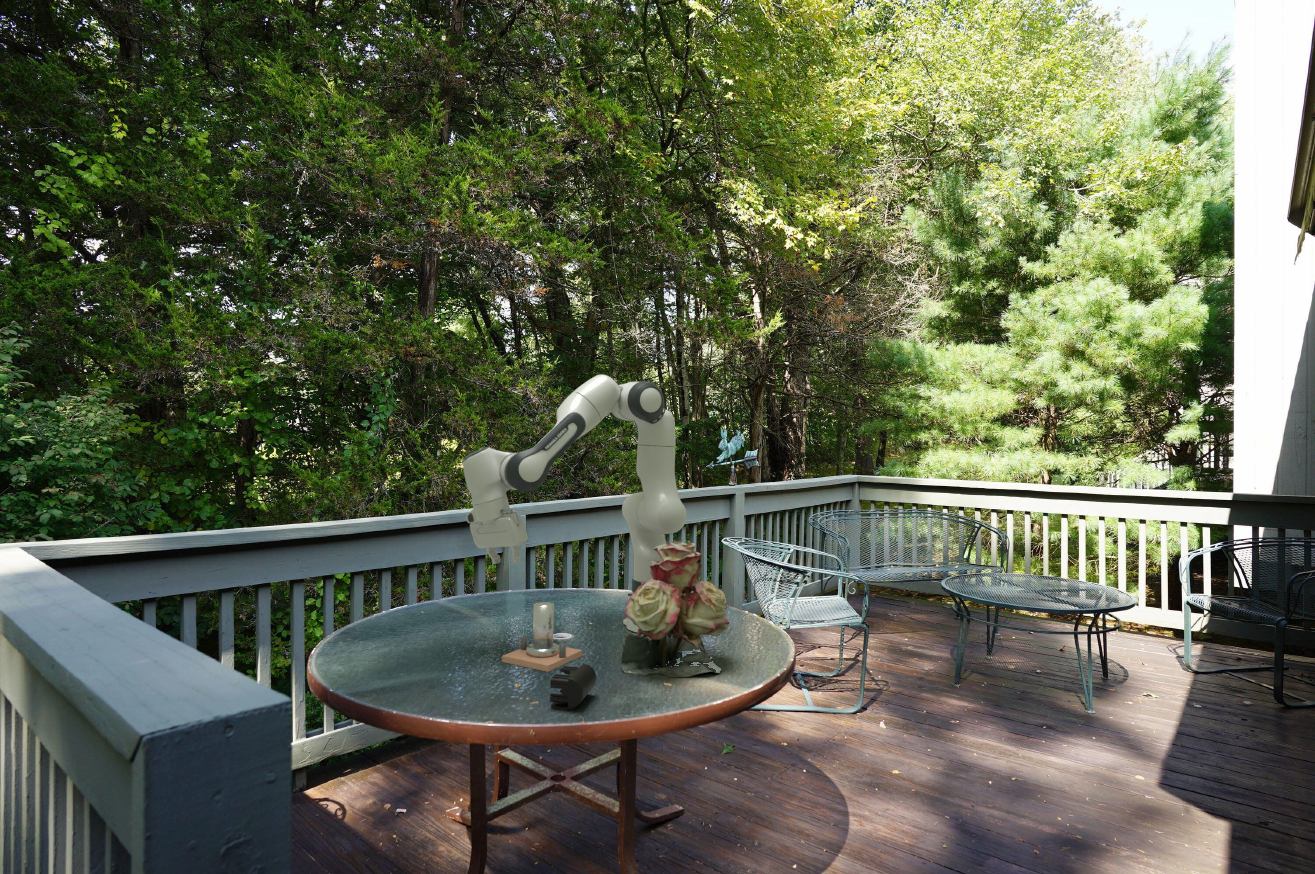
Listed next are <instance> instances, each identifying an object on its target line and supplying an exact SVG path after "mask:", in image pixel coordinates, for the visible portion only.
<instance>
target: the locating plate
mask: <svg viewBox="0 0 1315 874" xmlns="http://www.w3.org/2000/svg"><path fill="white" fill-rule="evenodd" d="M558 645H559V653H558V654H557V655H555V656H552V657H544V658H539V657H531V656H529V655H527V654H526V648H527V646H528V636H525V635H524V636H521V637H520V648H518V649H515V650H514V651H511V652H508V653H507V654H504V655H502V656H501V658H502V659H501V662H502V663H506V664H510V665H515V666H519V667H524V668H527V669H534V670H538V671H542V672H546V673H548V672H551V671H553V670H556V669H557V668H560V667H563V666H565V665H566V664H569V663H570V661H571V662H572V661H575V660H578V659H580V658H581V657H583V650H582V649H579V648H578V649H577V648H572V647H569V646H567V644H566V643H559V644H558Z"/></svg>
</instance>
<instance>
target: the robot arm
mask: <svg viewBox="0 0 1315 874" xmlns="http://www.w3.org/2000/svg"><path fill="white" fill-rule="evenodd" d="M660 388H661V387H659V386H658V385H656V384H655V383H653V382H651V381H647V380H645V381H644V380H643V381H642V380H641V381H630V382H627V383H623V384H622V383H621V384H618V383H617V382H616V381H615V379H613V378H612V377H611V376H608V375H606V374H597V375H595V376H593V377H592V378H590V379H588V380H587V381H585V382H584V383H583V384H581V385H580V386H578V387H577V388H576V389H575V390H573V391H572V392H571V393H570V394H569V395H568V396H567V397H566V398H565V399H564V400H563V401H562V403H561V404H560V405H559V407H558V408H557V409H556V423H555V425H554V426H553V427H552V429H550V430H549V432H547V433H546V435H544V436H543V437H542V438H541V439H540V441H539V442H537V443H536V444H535V445H534V446H533V447H530V448H529V449H525V450H522V451H519V452H507V451H501V450H497V449H494V448H491V447H489V446H485V447H483V448H480V449H477V450H474V451H473V452H471V453H469V454H467V455H466V456H465V457H464V459H463V462H462V468H463V474H464V480H465V482H466V486H467V490H468V492H469V493H470V495H471V505H472V510H470V511H469V513H467V514H466V516H465V519H466V522H467V523H468V524H469V529H470V533H471V537H472V539H473V543H474V545H475V546H476V547H477V549H485V550H486V551H485V552H486V553H487V555H488V556H489V557H490V558H491V562H492V564H494V565H496V564H500V563H501V562H502V559H501V556H500V555H499V554H498V552H497V551H496V549H497V548H506V547H508V548H510V551H511V552H512V556H510V558H511V562H512V564H518V563H520V562H521V561H522V559H521V558H522V557H521V546H522V545H524V544H526V543H528V539H529V536H528V532H527V530H526V527H525V524H524V522H523V520H522V518H521V516H520V515H519V514H518V512H516V511H515V510H514V509H513V508H511V506H510V504H509V499H508V495H507V492H508V491H510V490H513V491H514V490H515V491H520V492H525V493H526V492H527V493H528V492H532V491H536V490H537V489H539V488H540V487H541V486H542V485H543V483H544V482H545V480H546V479H547V476H548V473H549V471H550V469H551V468H552V465H553V464H555V462H556V460H558V459H559V458H560V457H561V456H562V455H563V454H564V453H565V452H566V451H567V450H568V449H569V448H570V447H571V446H572V444H574V443H575V442H576V441H577V440H578V439H580V438H582V437H583V436H584V435H586V434H588V433H589V432H590V431H591V430H593V429H594V428H595V427H596V426H598V425H599V423H601V421H603V420H604V418H605V417H606V416H608V415H609V416H610V417H612V418H613V419H615V420H618V421H623V422H624V421H626V422H634V423H635V425H636V428H637V431H638V437H637V449H636V451H637V454H636V474H637V476H638V478H639V480H640V483H641V486H642V488H641V489H642V491H640V492H635V493H632V494H630V495H628V496H627V497H626V498H625V499H624V501H623V503H622V506H621V513H622V516H623V518H624V520H625V523H626V524H627V527H628V531H629V532H628V533H629V536H630V541H631V547H632V556H633V557H632V558H633V560H632V562H633V565H632V567H633V569H632V573H633V574H632V575H633V576H632V577H633V578H631V584H630V586H631V588H630V589H631V590H630V591H631V594H633V593H634V592H635V591H636V590H637V589H638V587H639V586H640V585H641V584H643V583H644V582H646V581H648V580H650V579H653V577H652V575H651V573H650V569H651V568H650V566H651V562H652V561H653V560H655V561H660V556H659V553H658V552H657V551H655V550H654V548H655V547H657V546H659V545H663V544H664V543H667V540H666V536H665V535H669V534H674V533H677V532H679V531H680V530H681V529H683V527H684V525H685V524H686V522H687V514H688V513H687V510H686V507H685V505H684V504H683V502H682V500H681V498H680V495H679V490H678V487H677V480H676V472H675V470H676V468H675V467H676V463H675V461H676V443H677V442H676V426H675V425H676V424H675V418H674V415H673V414H672V413H671V411H669V410H668V409H666V408H667V406H666V403H665V397H664V394H663V391H662V389H660ZM667 547H668V546H667ZM630 597H631V596H628V598H627V601H628V600H629V598H630ZM622 624H623V625H625V626H626V628H627V629H628V630H629V631H631V632H634V633H638V629H639V628H638V626H636V625H634V624H633V621H631V620H630V619H629V618H627V617H626V616H625V619H623V620H622Z"/></svg>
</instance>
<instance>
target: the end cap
mask: <svg viewBox="0 0 1315 874" xmlns="http://www.w3.org/2000/svg"><path fill="white" fill-rule="evenodd" d="M561 667H562V668H560V669H559V672H560V673H563V674H558V673H555V674H554V675H553V676H551V678H550V683H549V684H550V685H549V687H550V689H559V693H552V692H551V693H550V694H549V701H550V702H551V703H550V709H552V708H555V709H554V710H560V709H562V710H563V711H572V710H574V709H575V708H577V706H579V705H580V704H581V702H582V701H583V700H584V699H585V698H586V697H587V696H588V694H589V693H590V692H591V691H592V690H593V688H594V687H595V685H596V683H597V674H596V671H595V670H594V668H593V667H592V666H591V665H589V664H587V663H582V664H581V665H580V666H570V665H569V666H568V665H562V666H561Z"/></svg>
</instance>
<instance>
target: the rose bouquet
mask: <svg viewBox="0 0 1315 874" xmlns="http://www.w3.org/2000/svg"><path fill="white" fill-rule="evenodd" d="M667 546H668V547H667ZM696 546H697V545H696V544H695V543H693V542H691V541H690V540H687V541H686V542H682V541H666V543H664V544H663V545H659V546H657V547H655V548H654V550H655V551H657V552H658V553H659V556H660V561H655V560H653V561H652V562H651V566H650V568H651V569H650V573H651V575H652V577H653V579H650V580H648V581H646V582H644V583H643V584H641V585H640V586H639V587H638V589H637V590H636V591H635V592H634V593H633V594H632V592H631V593H629V592H628V593H627V596H628V598H629V596H631V597H630V598H629V600H628V599H627V603H626V604H625V611H624V616H625V618H626V617H627V618H629V619H630V620H631V621H633V624H634V625H636V626H638V628H639V629H638V632H637V633H632V632H631V633H629V632H626V633H627V635H626V636H625V639H624V644H623V648H622V653H621V661H620V663H621V664H620V665H621V670H622V671H623V673H625V674H630V675H640V677H641V676H647V675H656V674H661V675H664V676H666V677H670V678H686V677H688V678H689V677H692V676H695V675H699V674H704V673H709V672H713V673H714V674H716V670H715V669H713V668H709V667H708V666H709V665H708V664H703V663H709V662H712V661H714V659H713V660H712V659H710V657H709V655H708V653H707V652H706V648H705V646H704V642H703V640H702V637H701V636H703V635H705V636H711V637H712V636H715V637H718V636H719V637H720V635H721V634H722V633H724V632H725V631H726V630H728V625H730V622H729V620H728V614H727V612H726V611H725V609H726V608H727V606H726V605H725V604H726V603H727V598H726V594H725V593H724V591H723V590H722V589H719V588H717V586H716V585H714V584H713V583H712V582H711V581H708V580H699V577H700V573H701V571H702V566H703V565H702V564H701V563H698V561H699V560H700V558H702V555H703V554H701V553H700V552H699V551H695V550H694V549H696ZM693 649H697V650H699V649H700V651H701V652H700V653H702V654H703V655H697V654H698V653H696V654H687V655H686V656H684V657H680V656H679V657H680V661H683V662H680V663H679V664H676V665H679V666H672V667H667V665H666V664H668V661H673V660H676V658H677V657H675V656H677V655H678V654H679V653H678V652H682V651H693ZM676 654H677V655H676ZM673 662H674V661H673ZM693 662H699V663H701V664H697V665H699V666H690V665H693V664H691V663H693ZM656 665H660V666H656ZM663 665H665V666H663ZM668 665H669V664H668ZM655 666H656V667H655ZM654 668H657V669H654ZM649 669H650V670H649ZM651 669H654V670H651Z"/></svg>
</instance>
